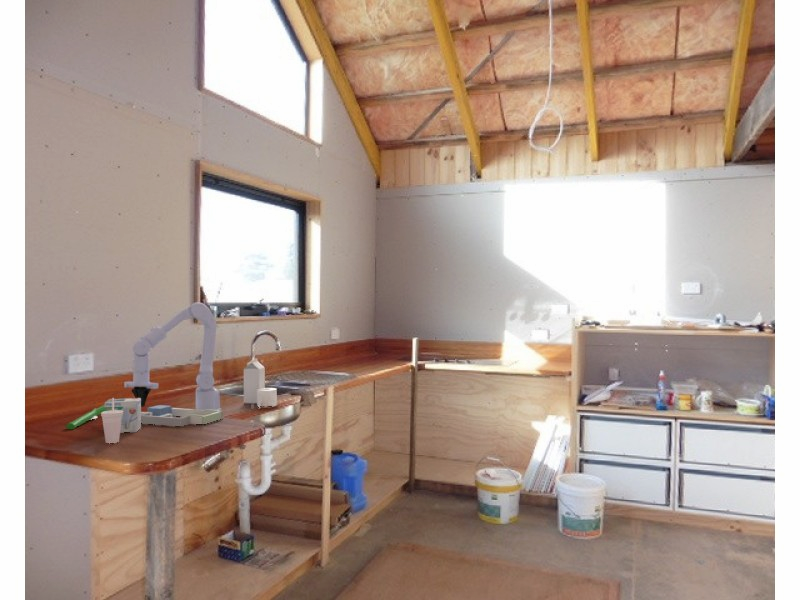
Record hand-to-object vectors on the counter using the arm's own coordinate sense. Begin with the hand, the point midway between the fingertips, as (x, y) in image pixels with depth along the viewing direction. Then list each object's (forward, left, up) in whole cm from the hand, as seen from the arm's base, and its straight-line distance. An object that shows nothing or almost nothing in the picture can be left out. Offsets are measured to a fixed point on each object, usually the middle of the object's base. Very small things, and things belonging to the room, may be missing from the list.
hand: (141, 406), depth 224 cm
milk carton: (-41, +25, -4) cm, 48 cm away
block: (0, +9, -4) cm, 10 cm away
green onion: (+11, -14, -4) cm, 19 cm away
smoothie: (+35, +21, -4) cm, 41 cm away
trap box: (+2, +18, -4) cm, 19 cm away
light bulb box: (+21, +12, -4) cm, 25 cm away
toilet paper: (-34, +34, -4) cm, 48 cm away
